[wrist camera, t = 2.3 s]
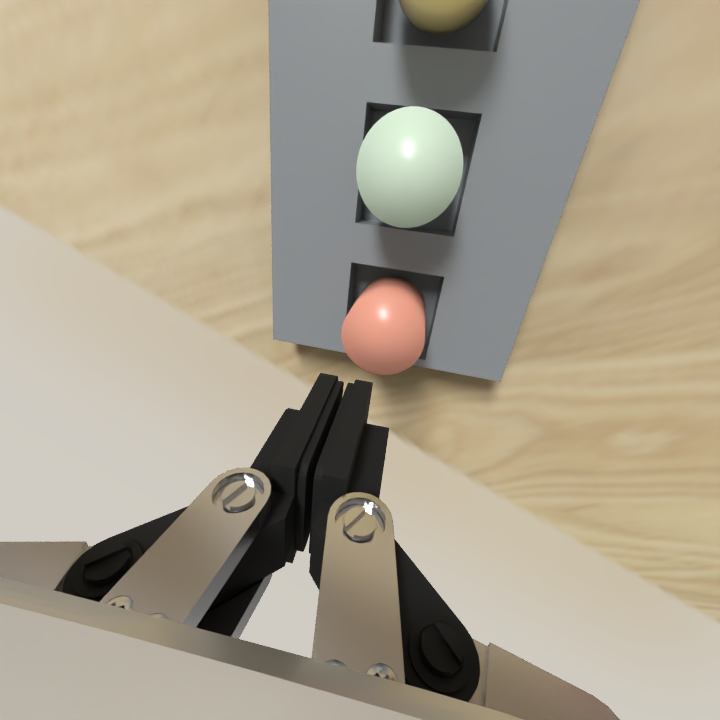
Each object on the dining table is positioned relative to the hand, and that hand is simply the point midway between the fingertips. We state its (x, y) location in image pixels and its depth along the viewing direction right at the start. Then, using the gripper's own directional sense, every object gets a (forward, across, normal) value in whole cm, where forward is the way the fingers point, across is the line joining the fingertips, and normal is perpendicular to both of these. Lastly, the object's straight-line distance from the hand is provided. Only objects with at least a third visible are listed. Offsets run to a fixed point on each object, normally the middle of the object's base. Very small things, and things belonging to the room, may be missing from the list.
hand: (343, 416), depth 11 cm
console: (+13, -1, -7) cm, 15 cm away
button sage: (+10, -1, -7) cm, 12 cm away
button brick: (+10, -1, 0) cm, 10 cm away
